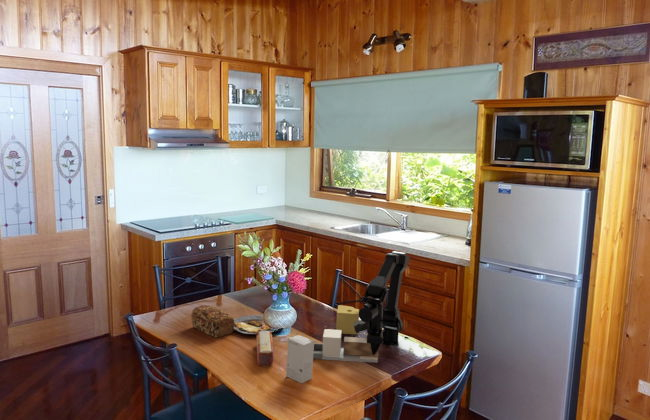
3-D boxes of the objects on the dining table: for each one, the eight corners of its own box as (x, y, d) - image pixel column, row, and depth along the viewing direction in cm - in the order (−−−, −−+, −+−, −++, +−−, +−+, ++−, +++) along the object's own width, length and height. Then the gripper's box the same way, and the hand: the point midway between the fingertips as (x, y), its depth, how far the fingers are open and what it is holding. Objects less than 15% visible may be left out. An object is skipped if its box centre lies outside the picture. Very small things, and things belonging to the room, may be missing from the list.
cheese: (359, 326, 250) (360, 306, 249) (358, 335, 240) (359, 314, 238) (336, 325, 251) (337, 304, 250) (335, 334, 241) (335, 312, 239)
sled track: (377, 352, 222) (378, 331, 221) (377, 362, 212) (378, 340, 211) (312, 348, 224) (313, 327, 222) (310, 358, 214) (311, 337, 213)
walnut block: (378, 351, 219) (378, 338, 218) (378, 356, 214) (379, 343, 214) (343, 349, 220) (344, 336, 219) (343, 354, 215) (343, 341, 214)
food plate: (294, 329, 245) (294, 321, 244) (253, 342, 228) (253, 334, 228) (260, 316, 262) (260, 309, 262) (220, 327, 246) (219, 320, 245)
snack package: (274, 366, 206) (274, 350, 205) (256, 367, 205) (256, 350, 204) (272, 344, 227) (272, 329, 226) (256, 345, 226) (256, 329, 225)
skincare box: (285, 376, 198) (286, 338, 195) (296, 371, 202) (297, 333, 200) (302, 384, 192) (303, 344, 190) (313, 378, 197) (314, 339, 195)
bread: (190, 327, 243) (190, 306, 242) (210, 322, 251) (210, 301, 249) (215, 339, 231) (215, 317, 229) (235, 333, 238) (235, 311, 237)
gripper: (355, 306, 224) (354, 341, 227) (354, 321, 206) (352, 360, 208) (382, 307, 223) (380, 343, 226) (383, 323, 205) (381, 362, 207)
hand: (373, 351), depth 217 cm, fingers closed on walnut block, 5 cm apart
